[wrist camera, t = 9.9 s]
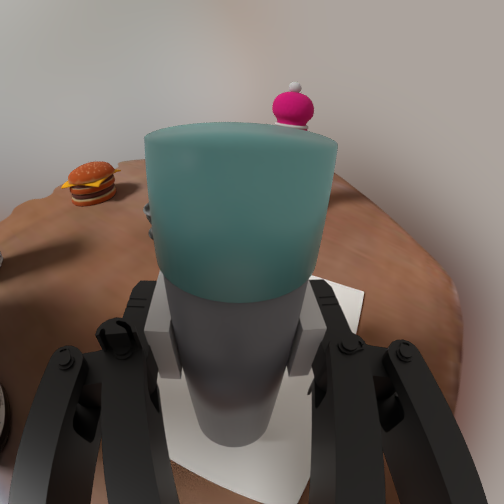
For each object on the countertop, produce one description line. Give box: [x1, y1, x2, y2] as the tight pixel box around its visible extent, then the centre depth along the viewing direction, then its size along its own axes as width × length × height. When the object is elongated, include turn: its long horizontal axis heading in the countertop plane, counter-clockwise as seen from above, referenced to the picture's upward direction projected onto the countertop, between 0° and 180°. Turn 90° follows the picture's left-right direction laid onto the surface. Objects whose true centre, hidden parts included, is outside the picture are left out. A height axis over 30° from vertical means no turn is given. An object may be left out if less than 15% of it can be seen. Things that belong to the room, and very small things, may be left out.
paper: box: [157, 275, 364, 504], centre depth 21 cm, size 22×16×1 cm
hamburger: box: [61, 162, 121, 206], centre depth 42 cm, size 9×10×7 cm
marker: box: [144, 122, 338, 447], centre depth 9 cm, size 4×4×14 cm
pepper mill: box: [273, 82, 314, 131], centre depth 38 cm, size 7×7×20 cm
